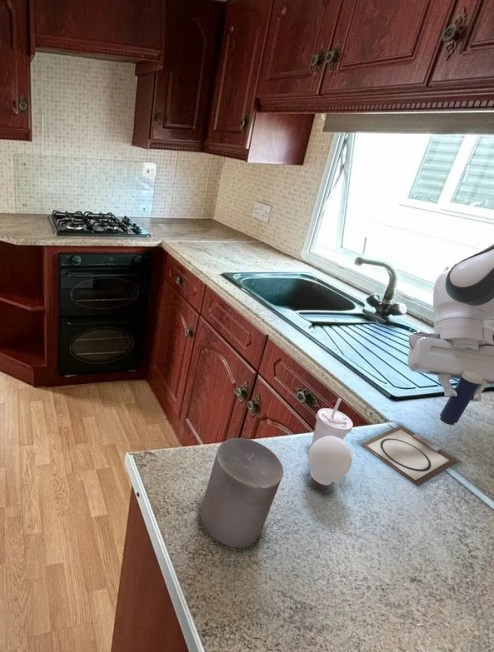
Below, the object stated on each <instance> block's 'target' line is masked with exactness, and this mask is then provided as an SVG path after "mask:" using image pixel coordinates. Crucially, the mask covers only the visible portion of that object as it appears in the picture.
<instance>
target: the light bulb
mask: <svg viewBox="0 0 494 652" xmlns="http://www.w3.org/2000/svg"><path fill="white" fill-rule="evenodd" d="M310 447H311V446H310ZM352 454H353V453H352V450H351V448H350V446H349V445H348V444H347V442H346V441H344V439H343V440H342V439H340V438H338V437H335V436H325V437H322V438H320V439H318V440H317V441H316V442H315V443H314V444H313V445H312V447H311V449H310V448H309V451H308V456H307V457H308V458H307V461H308V466H309V468H310V474H309V477H308V482H309V485H310V486H311V487H312V488H313V489H314V490H316V491H317V492H320V493H322V494H328V493H330V492H331V490H332V488H333V487H334V483H335V482H336V481H340V480H341V479H343V478H345V477H346V475H347V474H349V471H350V470H351V467H352V464H353V455H352Z"/></svg>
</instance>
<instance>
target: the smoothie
mask: <svg viewBox="0 0 494 652" xmlns="http://www.w3.org/2000/svg"><path fill="white" fill-rule="evenodd" d="M341 402H342V398H337V400H336V403H335V405H334V408H328V407H326V408H325V407H324V408H323V407H322V408H320V409H318V411H317V413H316V414H315V419H316V422H315V425H314V430H313V435H312V439H311V442H310V448H309V450H310V449H311V447H312V445H313V444H314V443H315V442H316V441H317V440H318V439H320V438H322V437H325V436H335V437H338V438H340V439H342V440H343V441H344V439H345V438H346V436H347V434H349V433H351V432H352V430H353V428H354V427H353V426H354V423H353V420H352V419H351V418H350V417H349V416H347V415H346V414H345V413H343V412H342V411H339V410H338V409H339V406H340V404H341Z"/></svg>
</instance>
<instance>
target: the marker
mask: <svg viewBox="0 0 494 652" xmlns="http://www.w3.org/2000/svg"><path fill="white" fill-rule="evenodd" d="M482 381H483V377H482V376H480V375H479V374H476V373H474V372H470V371H464V373H463V374H462V377H461V378H460V379H458V382H457V384H456V386H455V387H454V388H457V397H454V398H452V397H448V400H447V402H446V403H445V405H444V407H443V408H442V410H441V412H440V414H439V416H440V417H439V420H440V421H441V422H442V423H444V424H446V425H449V426H454V425H455V424H458V422H459V420H460V419H461V417H462V415H463V414H464V412H465V410H466V409H467V407H468V405H469V404H470V402H471V401H470V400H471V399H472V397H473V395H474V394H475V392H476V390H477V389H478V387H479V385H480V384H481V382H482Z"/></svg>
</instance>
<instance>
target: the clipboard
mask: <svg viewBox="0 0 494 652" xmlns="http://www.w3.org/2000/svg"><path fill="white" fill-rule="evenodd" d="M359 445H360V447H362V448H364V449H365V450H366V451H368V452H369V453H370V454H372V455H374V456H375V457H376V458H378V459H379V460H380V461H382V462H383V463H384V464H386V465H387V466H388V467H390V468H392V469H393V470H394V471H395V472H397V473H398V474H400V475H401V476H403V477H404V478H405V479H406V480H409V481H410V482H411V483H412V484H413V485H415V486H417V487H420V486H421V485H423V484H425V483H426V482H429V480H431V479H432V478H435V477H436V476H438V475H439V474H442V472H444V471H446V470H448V469H449V468H451V467H452V466H454V465H456V464H457V463H459V462H460V461H459V460H457V459H456V458H454V457H452V456H451V455H450V454H448V453H446V452H445V451H443V450H442V448H441V447H440V446H439V445H437V444H435V443H434V442H433V441H431V440H429V439H427V438H426V437H424V436H422V435H421V434H419V433H414V432H413V431H411V430H410V429H408V428H407V427H405V426H403V425H402V424H400V425H398V426H395V427H393V428H391V429H389V430H387V431H385V432H382V433H380V434H378V435H375V436H374V437H372V438H369V439H368V440H365V441H363V442H361V443H359Z"/></svg>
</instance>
